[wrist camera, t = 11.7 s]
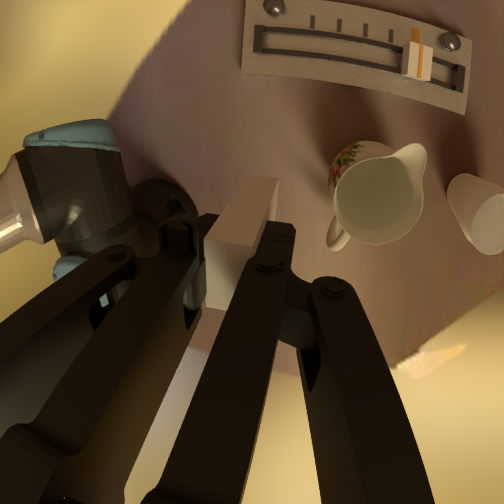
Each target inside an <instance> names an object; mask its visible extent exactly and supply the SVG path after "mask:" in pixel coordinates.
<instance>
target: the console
mask: <svg viewBox="0 0 504 504" xmlns="http://www.w3.org/2000/svg"><path fill="white" fill-rule="evenodd" d="M409 41H411V42H415V43H418V44H423V45H425V46H428V47H431V48H433V55H432V67H431V77H430V81H421V80H418V79H414V78H411V77H407V76H403V75H401V69H402V68H401V67H399V66H400V55H402V54H403V45H404V44H405V43H407V42H409ZM471 51H472V41H471V40H469V39H467V38H464V37H462V36H459V35H457V34H455V33H453V32H449V31H447V30H444V29H441V28H438V27H435V26H433V25H430V24H427V23H424V22H420V21H417V20H414V19H411V18H407V17H404V16H400V15H396V14H392V13H388V12H384V11H380V10H376V9H371V8H366V7H361V6H356V5H351V4H345V3H338V2H331V1H324V0H246V5H245V20H244V35H243V51H242V67H241V74H252V75H269V76H282V77H292V78H302V79H310V80H318V81H325V82H332V83H338V84H344V85H350V86H355V87H361V88H366V89H370V90H375V91H380V92H384V93H389V94H393V95H397V96H401V97H405V98H409V99H412V100H416V101H419V102H423V103H426V104H430V105H433V106H436V107H439V108H443V109H446V110H449V111H452V112H455V113H458V114H461V115H464V116H465V110H466V103H467V95H468V87H469V77H470V66H471Z"/></svg>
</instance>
